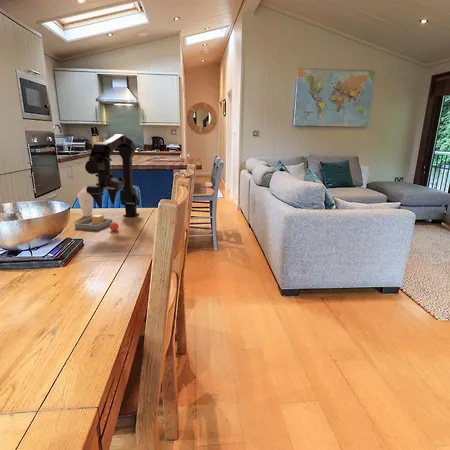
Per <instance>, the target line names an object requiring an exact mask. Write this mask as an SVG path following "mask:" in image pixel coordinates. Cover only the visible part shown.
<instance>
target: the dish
mask: <svg viewBox="0 0 450 450" xmlns="http://www.w3.org/2000/svg"><path fill="white" fill-rule="evenodd" d="M111 223H113V219H112V218H104V222H103V223H101V224H99V225H95V224H92V217H91V216H90V217H88V218H86V219H84V220H80V221H78V222H75V223H74V228H75V229H76V230H83V231H84V230H85V231H95V232H99V231H100V230H103V229H105V228H107V227H110V224H111Z"/></svg>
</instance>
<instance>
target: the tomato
mask: <svg viewBox="0 0 450 450" xmlns="http://www.w3.org/2000/svg"><path fill="white" fill-rule="evenodd" d="M119 227H120V226H119V223H118V222H113V221H112V223H111V224H110V226H109V229H110V230H111V231H113V232H115V231H118V229H119Z"/></svg>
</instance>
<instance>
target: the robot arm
mask: <svg viewBox="0 0 450 450" xmlns="http://www.w3.org/2000/svg"><path fill="white" fill-rule="evenodd" d="M114 149H117V150H118V155H119V156H120V158H121V161H122V176H121V177H118V178H117V177H115V176H114V173H112V170H111V169H112V168H111V162H112V158H111V156H112V154H113V153H114V151H113V150H114ZM136 149H137V147H136V144H135V142H134V141H133V140H132V139H130V138H128V137H127V136H126V135H125V134H123V133H122V134H119V133H118V134H117V133H116V134H114V135H113V136H111V137H110V138H108V139H106V140H104V141H98V142H95V143H93V145H92V147H91V151H90V154H89V157H88V161H86V163H85V165H84V169H85V171H86V173H87V174H90V175H95V177H96V178H97V183H96V185H94V184H93V185H92V184H91V185H89V186H88V185H87V186H86V187H87V188H86V191H87V193H89V194H90V195H91V196H92V197H93V201H94V202H95V204H96V205H97V207H98V208H100V209H102V206H103V200H102V199H103V196H104V194H105V193H104V191H105V190H106V191H107V193H108V196H109V200H110V203H111V204H112V205H114V204H115V201H116V197H117V194H118V192H119V200H120V203H121V205H122V206H124V210H125V211H124V212H125V214H123V215H122V216H123V217H130V218H135V217H137V216H138V215H140V213H139V212H138V211H137V207H138V206H140V203H141V201H140V198H139V196H138V195H137V190H136V189H135V187H134V181H133V158H134V156H135V154H136Z"/></svg>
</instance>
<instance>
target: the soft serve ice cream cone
mask: <svg viewBox="0 0 450 450" xmlns="http://www.w3.org/2000/svg"><path fill="white" fill-rule="evenodd" d="M87 187H88V186H84V187H82V188H81V190H80V191H79V192H78V193H77V195H76V197H77V199H78V201H79V207H80V210H81V213H82V216H83V217H88V218H89V217H91V216H93V209H94V199H93V197H92V196H91V195H90V194H89V193H87V191H86V188H87Z"/></svg>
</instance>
